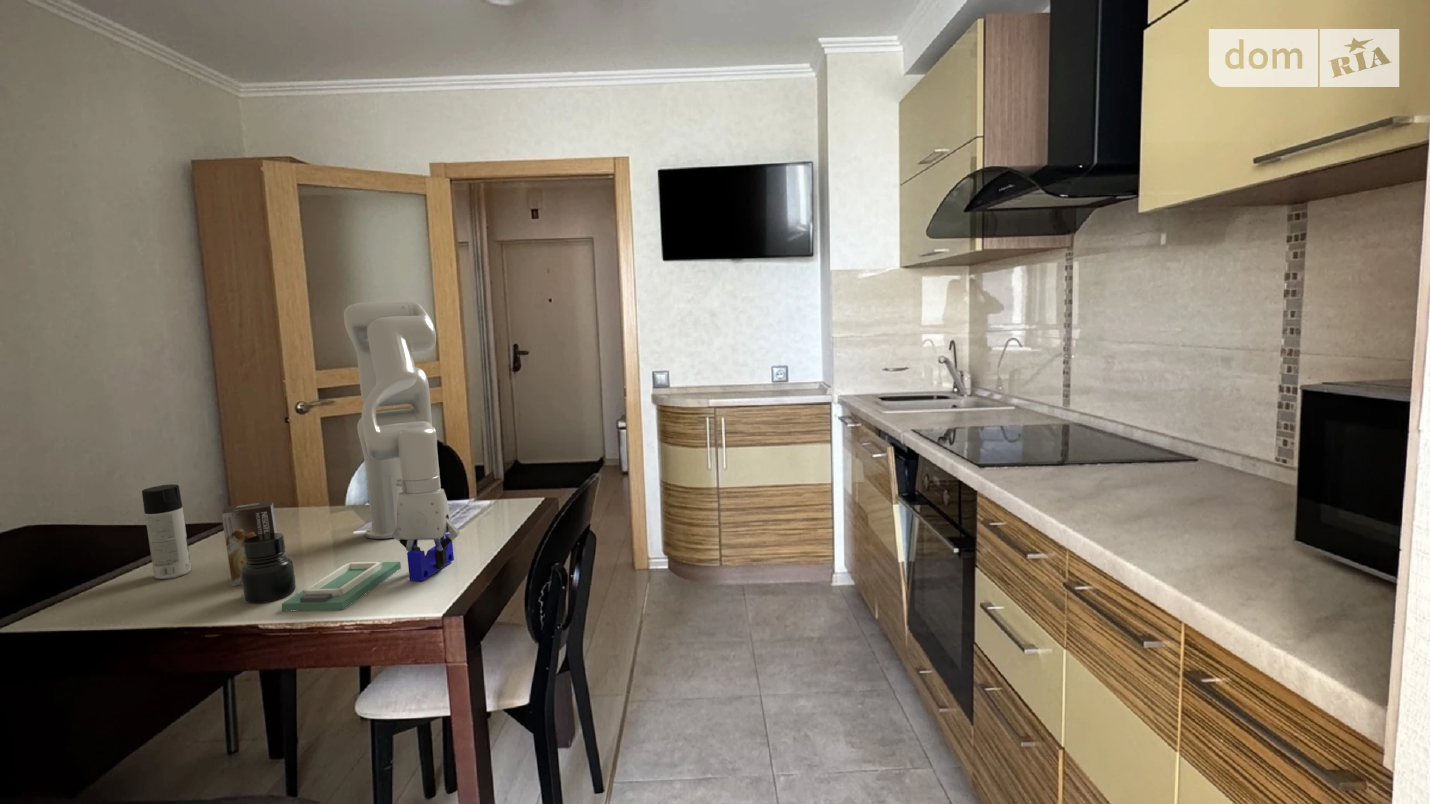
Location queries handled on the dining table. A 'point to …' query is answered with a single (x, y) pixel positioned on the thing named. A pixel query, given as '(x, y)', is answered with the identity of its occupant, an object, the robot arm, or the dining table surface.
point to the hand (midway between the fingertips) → (428, 566)
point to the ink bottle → (267, 569)
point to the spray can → (166, 531)
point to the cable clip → (426, 562)
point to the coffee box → (245, 531)
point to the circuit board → (342, 586)
